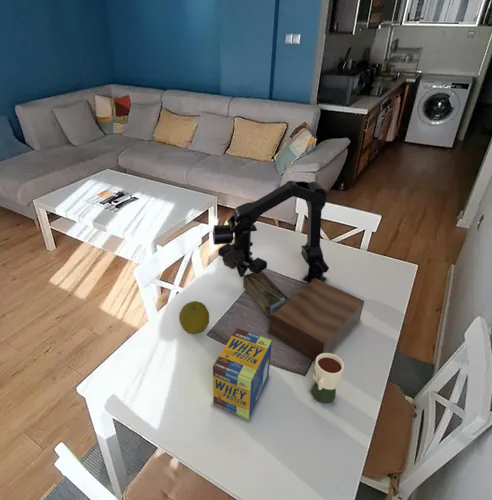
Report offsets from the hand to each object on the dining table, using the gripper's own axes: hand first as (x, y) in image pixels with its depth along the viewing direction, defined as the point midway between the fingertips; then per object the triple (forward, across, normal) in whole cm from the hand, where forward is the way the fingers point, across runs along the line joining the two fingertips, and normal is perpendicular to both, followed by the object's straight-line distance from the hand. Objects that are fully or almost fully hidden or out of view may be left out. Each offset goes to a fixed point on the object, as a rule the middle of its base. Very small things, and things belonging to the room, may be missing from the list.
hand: (241, 276), depth 143 cm
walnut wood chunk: (+5, +32, 0) cm, 32 cm away
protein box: (+5, +30, -36) cm, 47 cm away
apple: (+5, +3, -28) cm, 28 cm away
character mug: (+5, +47, -22) cm, 52 cm away
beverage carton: (+5, +11, 0) cm, 12 cm away
